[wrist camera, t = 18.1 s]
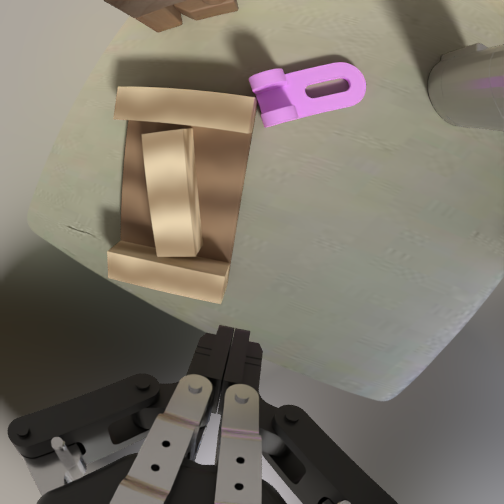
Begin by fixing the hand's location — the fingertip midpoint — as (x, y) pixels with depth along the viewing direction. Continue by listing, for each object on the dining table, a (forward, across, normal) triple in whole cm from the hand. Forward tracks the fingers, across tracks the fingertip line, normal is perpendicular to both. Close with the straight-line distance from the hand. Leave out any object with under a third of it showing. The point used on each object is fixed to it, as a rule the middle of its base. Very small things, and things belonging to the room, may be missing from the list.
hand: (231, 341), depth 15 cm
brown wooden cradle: (+27, +11, 0) cm, 29 cm away
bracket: (+27, -3, -15) cm, 31 cm away
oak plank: (+26, +11, 0) cm, 28 cm away
